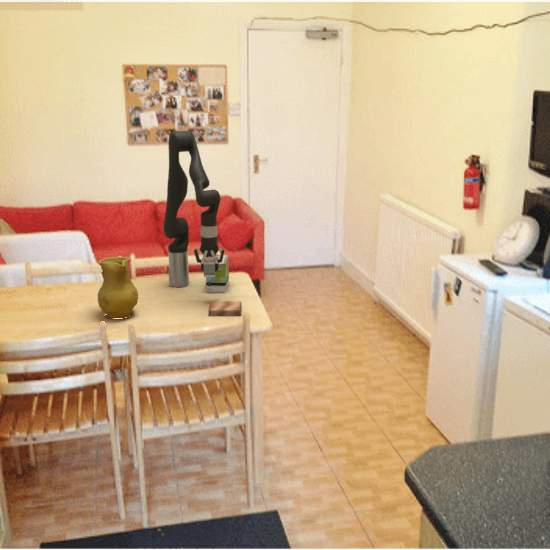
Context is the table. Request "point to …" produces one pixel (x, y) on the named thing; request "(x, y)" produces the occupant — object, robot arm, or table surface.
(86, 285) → the table surface
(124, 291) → the pitcher
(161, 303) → the table surface
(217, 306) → the stand
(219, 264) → the tea box
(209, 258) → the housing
